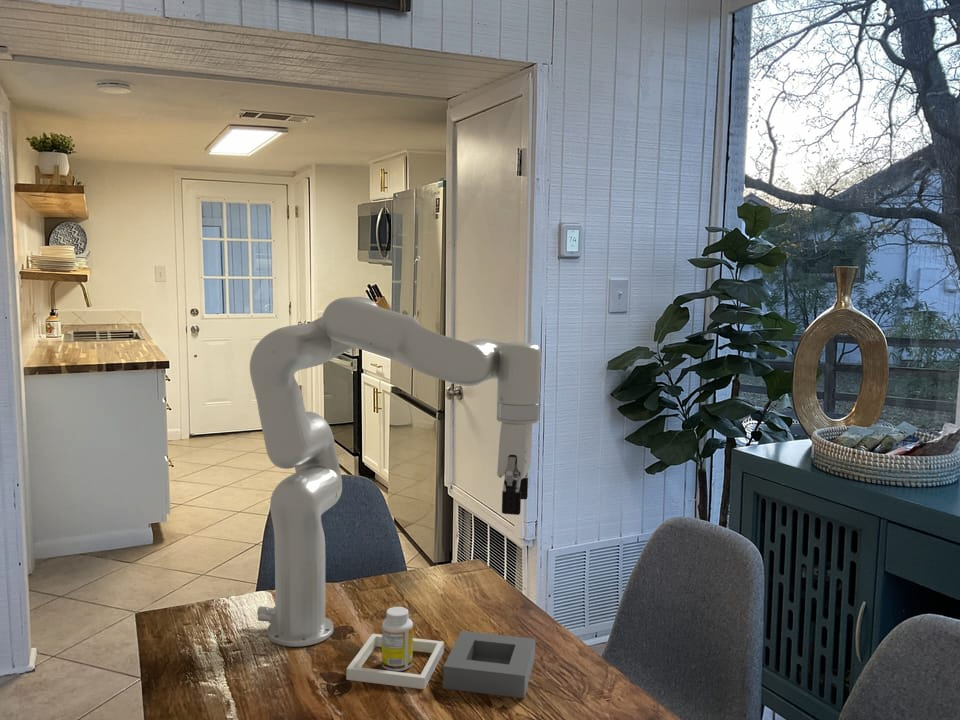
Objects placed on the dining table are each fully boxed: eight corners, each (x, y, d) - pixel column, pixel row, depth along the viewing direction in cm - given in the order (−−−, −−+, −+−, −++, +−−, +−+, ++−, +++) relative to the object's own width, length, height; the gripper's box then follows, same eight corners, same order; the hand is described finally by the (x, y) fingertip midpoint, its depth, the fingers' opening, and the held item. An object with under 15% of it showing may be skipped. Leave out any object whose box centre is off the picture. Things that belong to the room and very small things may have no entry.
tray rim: (346, 679, 140) (346, 668, 140) (372, 643, 154) (372, 633, 154) (424, 689, 138) (424, 678, 137) (443, 651, 151) (444, 641, 151)
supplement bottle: (402, 655, 150) (402, 602, 148) (418, 667, 145) (419, 612, 144) (375, 663, 146) (376, 609, 145) (391, 676, 142) (392, 620, 141)
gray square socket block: (443, 688, 138) (443, 666, 137) (460, 651, 152) (461, 630, 151) (524, 698, 135) (524, 675, 135) (534, 659, 149) (535, 638, 149)
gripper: (504, 403, 153) (501, 491, 155) (488, 419, 136) (486, 518, 138) (544, 405, 151) (541, 494, 153) (533, 422, 134) (529, 522, 136)
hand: (515, 505), depth 145 cm, fingers open, 9 cm apart
